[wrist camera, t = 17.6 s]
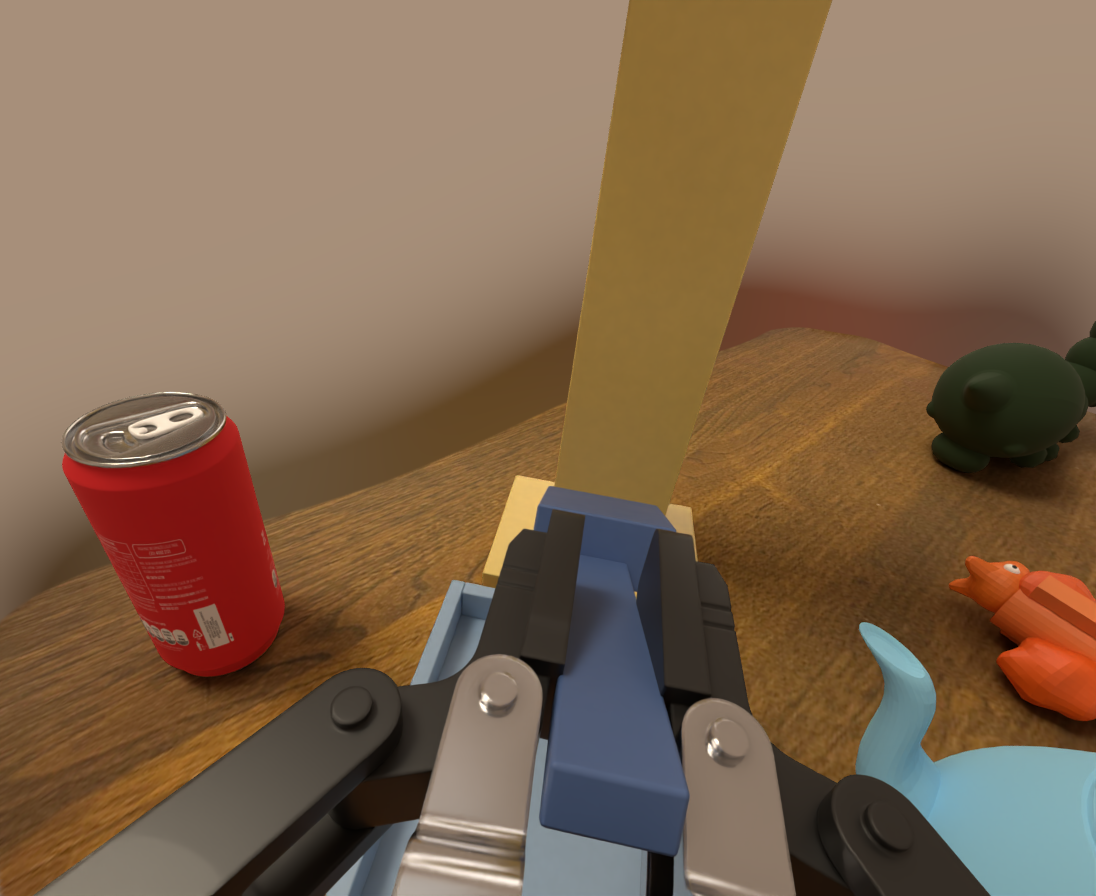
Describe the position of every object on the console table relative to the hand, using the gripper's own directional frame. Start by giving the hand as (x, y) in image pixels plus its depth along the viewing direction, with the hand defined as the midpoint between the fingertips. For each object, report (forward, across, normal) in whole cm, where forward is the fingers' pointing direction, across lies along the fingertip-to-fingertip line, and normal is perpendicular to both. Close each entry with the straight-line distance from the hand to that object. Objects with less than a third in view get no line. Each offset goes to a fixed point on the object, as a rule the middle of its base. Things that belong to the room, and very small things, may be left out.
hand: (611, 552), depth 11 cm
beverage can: (+5, +16, +15) cm, 23 cm away
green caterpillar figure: (+38, -37, +15) cm, 55 cm away
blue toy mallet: (0, 0, +2) cm, 2 cm away
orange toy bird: (+12, -26, +15) cm, 32 cm away
